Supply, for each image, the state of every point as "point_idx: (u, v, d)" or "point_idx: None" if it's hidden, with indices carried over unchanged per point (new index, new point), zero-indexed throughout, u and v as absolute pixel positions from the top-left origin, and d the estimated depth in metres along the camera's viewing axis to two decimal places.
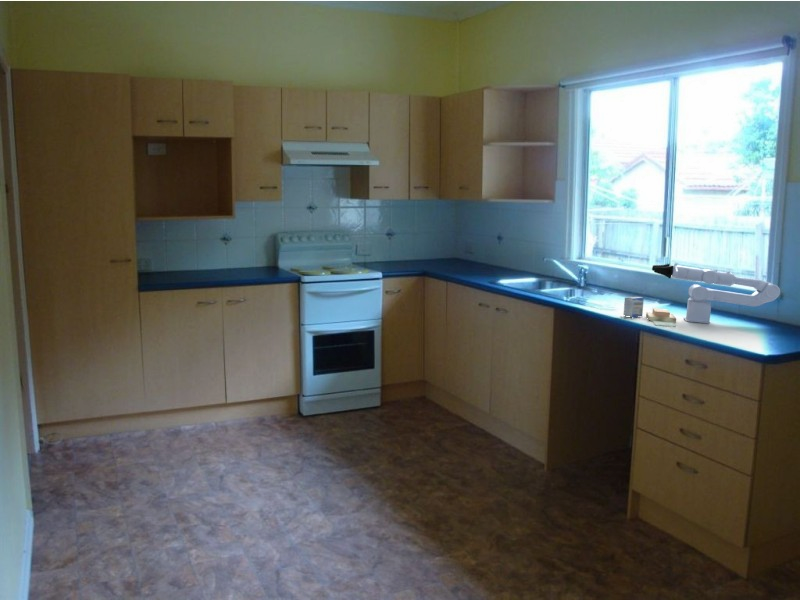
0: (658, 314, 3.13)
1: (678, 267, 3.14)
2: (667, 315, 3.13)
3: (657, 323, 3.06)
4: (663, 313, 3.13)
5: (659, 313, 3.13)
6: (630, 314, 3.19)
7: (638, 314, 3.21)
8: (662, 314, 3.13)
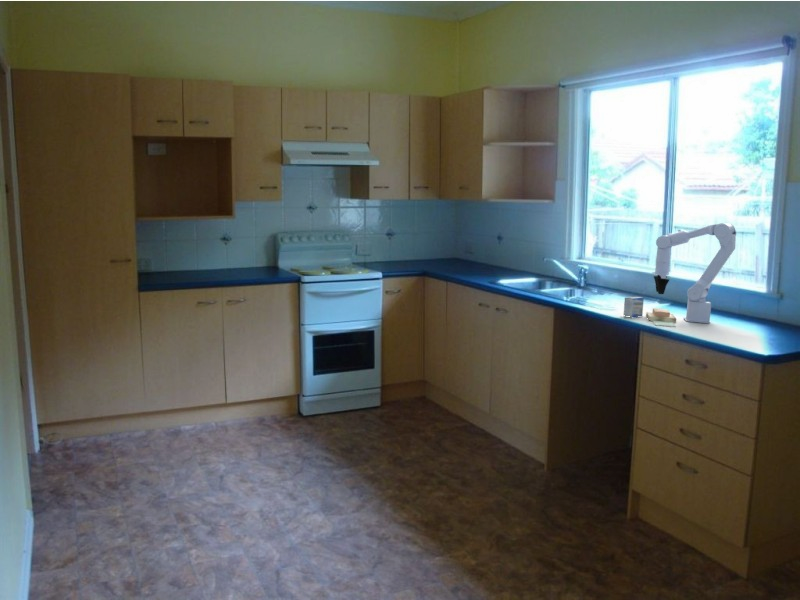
0: (658, 314, 3.13)
1: (657, 271, 3.23)
2: (667, 315, 3.13)
3: (657, 323, 3.06)
4: (663, 313, 3.13)
5: (659, 313, 3.13)
6: (630, 314, 3.19)
7: (638, 314, 3.21)
8: (662, 314, 3.13)
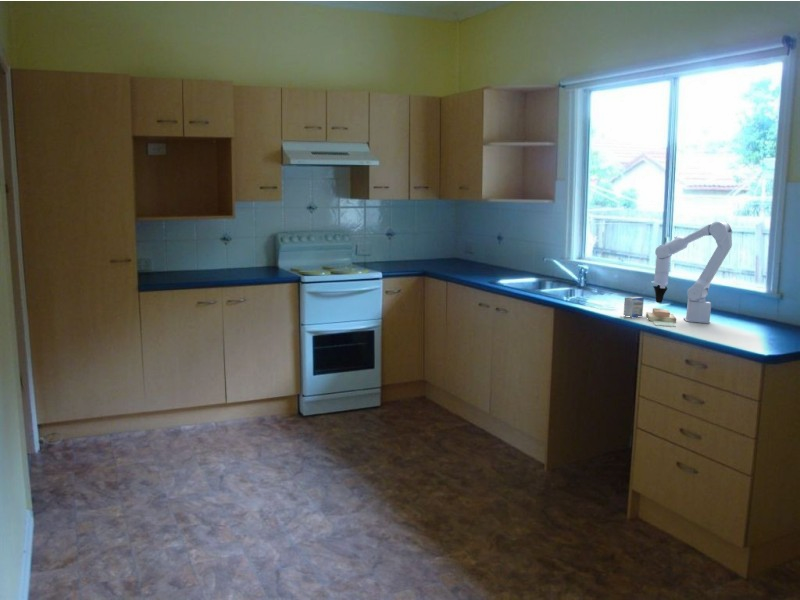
0: (658, 314, 3.13)
1: (656, 280, 3.23)
2: (667, 315, 3.13)
3: (657, 323, 3.06)
4: (663, 313, 3.13)
5: (659, 313, 3.13)
6: (630, 314, 3.19)
7: (638, 314, 3.21)
8: (662, 314, 3.13)
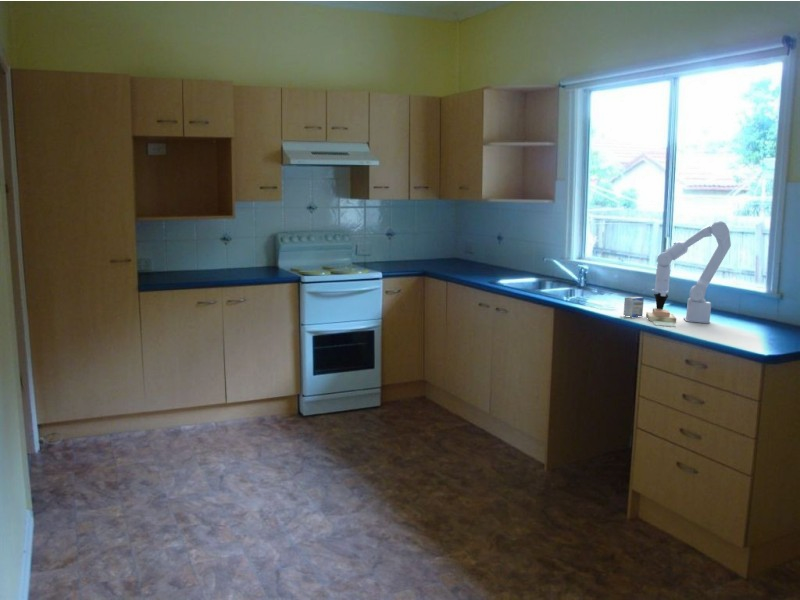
0: (658, 314, 3.13)
1: (656, 288, 3.20)
2: (667, 315, 3.13)
3: (657, 323, 3.06)
4: (663, 313, 3.13)
5: (659, 313, 3.13)
6: (630, 314, 3.19)
7: (638, 314, 3.21)
8: (662, 314, 3.13)
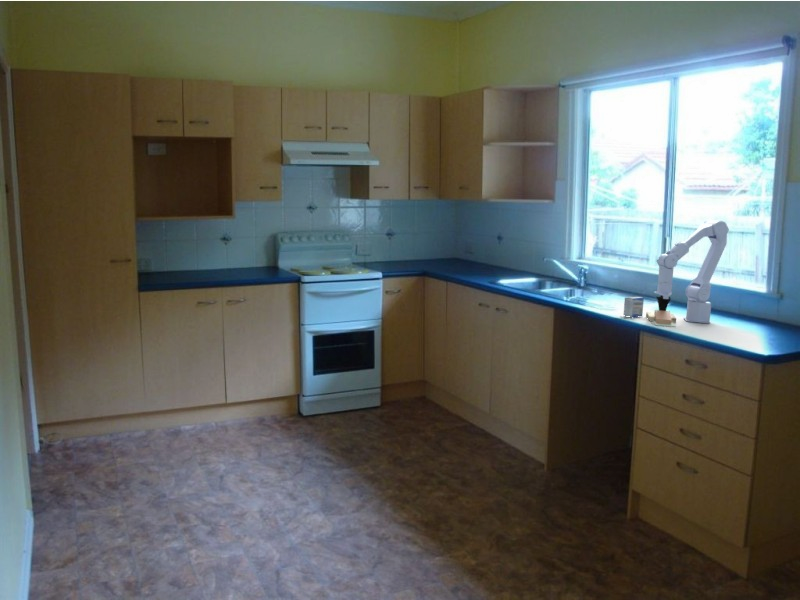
0: (659, 321, 3.06)
1: (659, 291, 3.11)
2: (669, 322, 3.05)
3: (657, 323, 3.06)
4: (665, 320, 3.05)
5: (660, 320, 3.05)
6: (630, 314, 3.19)
7: (638, 314, 3.21)
8: (664, 321, 3.05)
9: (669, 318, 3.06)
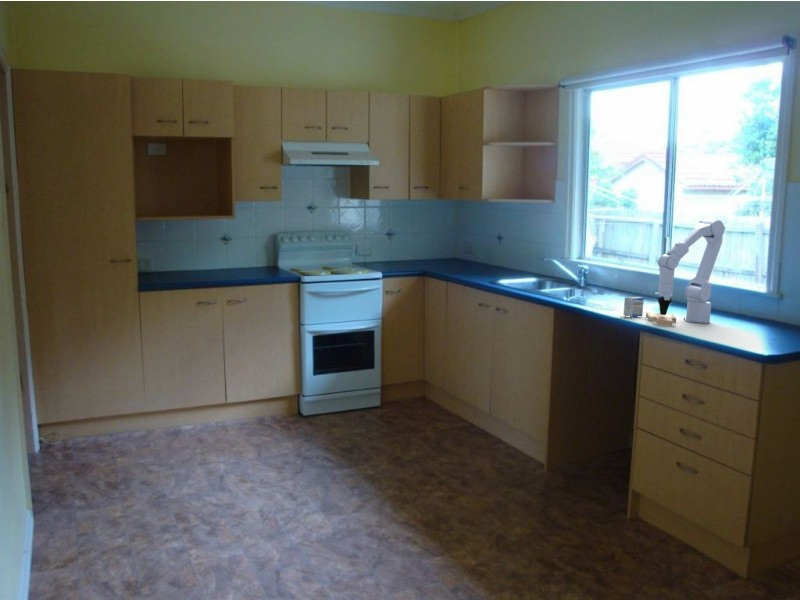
0: (661, 322, 3.03)
1: (660, 292, 3.08)
2: (670, 323, 3.02)
3: None
4: (666, 321, 3.02)
5: (662, 321, 3.03)
6: (630, 314, 3.19)
7: (638, 314, 3.21)
8: (665, 322, 3.03)
9: (670, 320, 3.03)
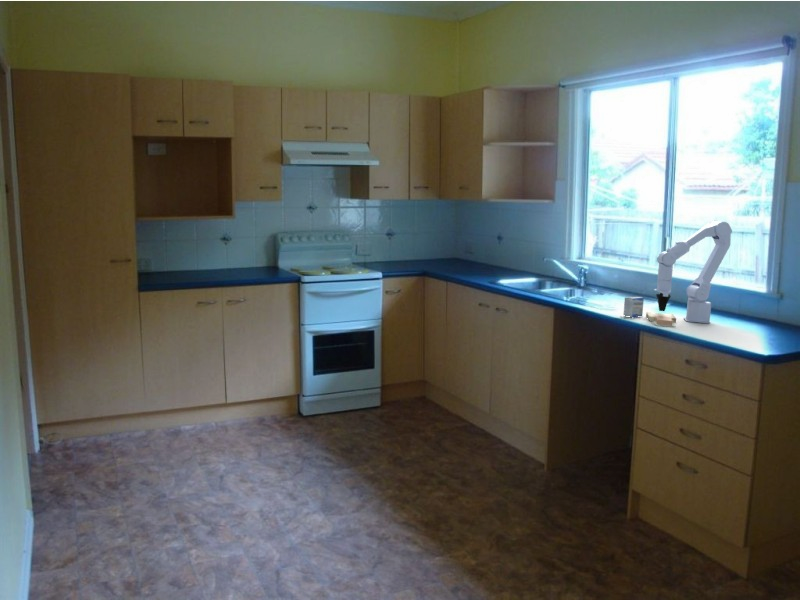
0: (661, 322, 3.03)
1: (659, 288, 3.13)
2: (670, 323, 3.02)
3: None
4: (666, 321, 3.02)
5: (662, 321, 3.03)
6: (630, 314, 3.19)
7: (638, 314, 3.21)
8: (665, 322, 3.03)
9: (670, 320, 3.03)
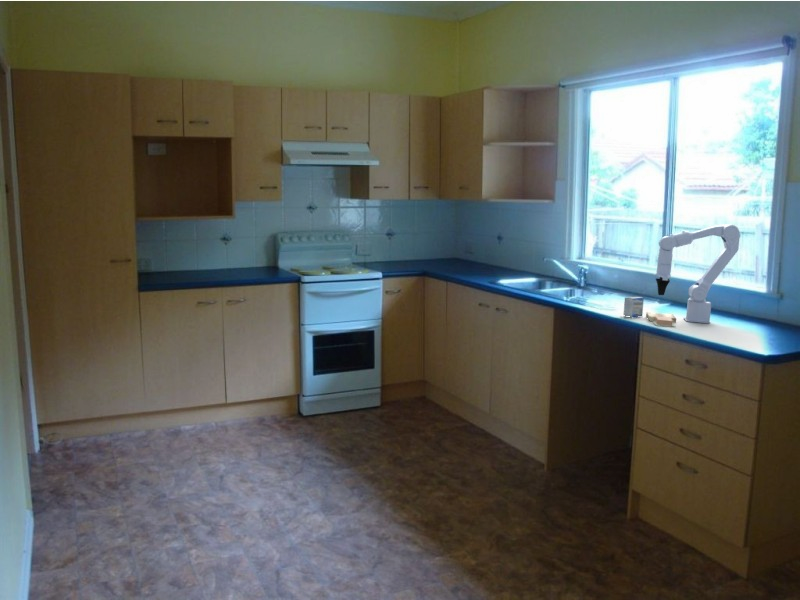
0: (661, 322, 3.03)
1: (658, 272, 3.16)
2: (670, 323, 3.02)
3: None
4: (666, 321, 3.02)
5: (662, 321, 3.03)
6: (630, 314, 3.19)
7: (638, 314, 3.21)
8: (665, 322, 3.03)
9: (670, 320, 3.03)
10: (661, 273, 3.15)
